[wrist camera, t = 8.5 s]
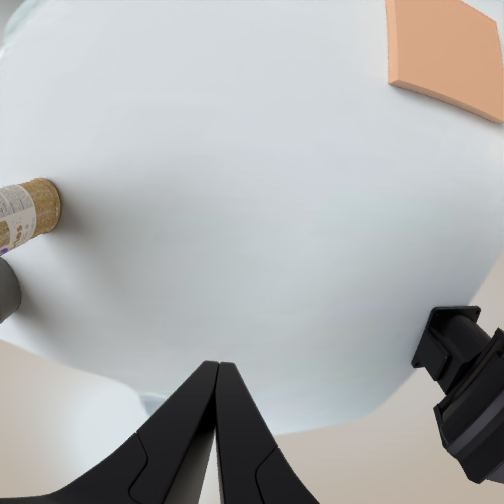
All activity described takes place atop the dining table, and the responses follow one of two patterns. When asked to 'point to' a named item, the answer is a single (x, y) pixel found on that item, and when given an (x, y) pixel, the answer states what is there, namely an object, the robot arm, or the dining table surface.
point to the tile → (446, 54)
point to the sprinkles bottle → (27, 212)
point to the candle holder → (8, 291)
